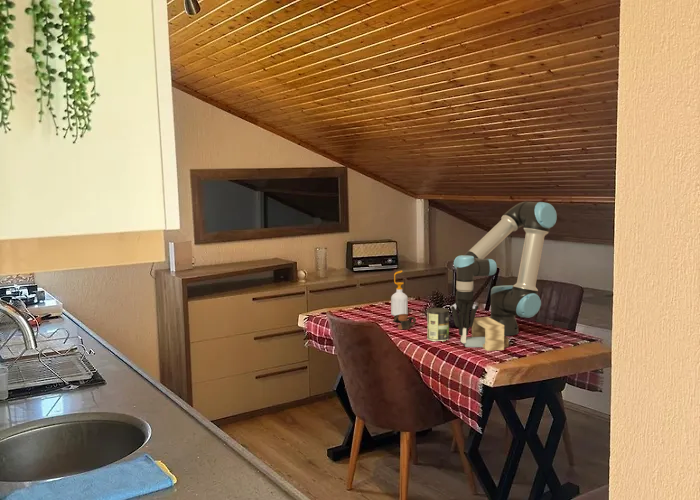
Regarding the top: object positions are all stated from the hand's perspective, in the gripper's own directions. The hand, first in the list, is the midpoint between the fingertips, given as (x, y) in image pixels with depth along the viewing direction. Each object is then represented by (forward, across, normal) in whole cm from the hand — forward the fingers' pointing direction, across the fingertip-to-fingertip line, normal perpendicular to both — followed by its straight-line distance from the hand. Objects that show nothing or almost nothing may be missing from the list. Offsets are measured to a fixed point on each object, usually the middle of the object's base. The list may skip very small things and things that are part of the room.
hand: (463, 342), depth 301 cm
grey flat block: (+2, -8, -1) cm, 9 cm away
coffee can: (+2, +6, -16) cm, 18 cm away
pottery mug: (+2, +15, -43) cm, 45 cm away
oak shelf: (+2, -14, 0) cm, 14 cm away
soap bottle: (+2, +9, -74) cm, 75 cm away
